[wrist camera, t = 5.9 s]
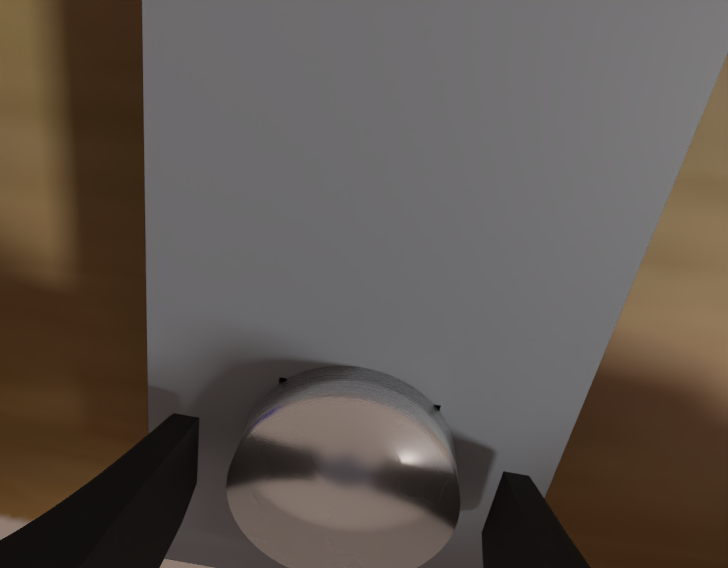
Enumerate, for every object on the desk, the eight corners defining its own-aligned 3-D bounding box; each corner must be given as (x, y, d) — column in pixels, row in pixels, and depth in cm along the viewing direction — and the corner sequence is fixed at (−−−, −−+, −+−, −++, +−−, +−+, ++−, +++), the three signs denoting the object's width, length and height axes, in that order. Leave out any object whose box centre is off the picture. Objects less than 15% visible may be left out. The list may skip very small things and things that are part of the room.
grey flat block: (479, 506, 19) (495, 617, 16) (198, 456, 19) (150, 555, 16) (690, -106, 12) (818, -167, 8) (222, -189, 12) (137, -288, 8)
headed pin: (470, 414, 17) (492, 554, 12) (320, 458, 18) (291, 600, 14) (407, 272, 15) (407, 375, 11) (245, 331, 16) (183, 447, 12)
